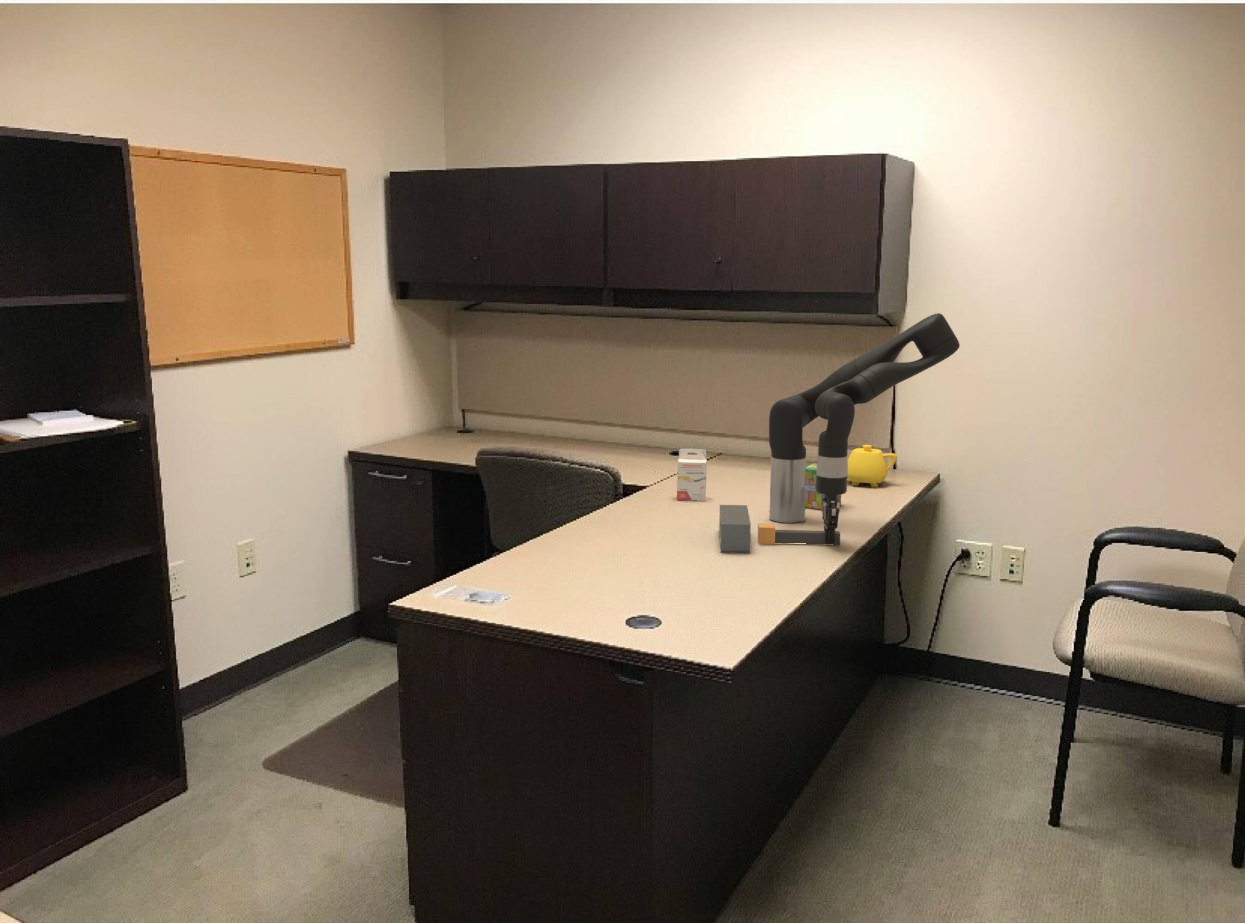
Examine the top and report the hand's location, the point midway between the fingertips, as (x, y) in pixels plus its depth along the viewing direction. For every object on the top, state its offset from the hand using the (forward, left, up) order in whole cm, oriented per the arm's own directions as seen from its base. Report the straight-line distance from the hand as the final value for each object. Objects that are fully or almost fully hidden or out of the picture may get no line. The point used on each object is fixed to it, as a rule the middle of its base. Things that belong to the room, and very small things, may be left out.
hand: (829, 541), depth 253 cm
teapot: (-19, -72, -1) cm, 75 cm away
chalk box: (-2, -40, -1) cm, 40 cm away
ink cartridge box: (+35, -46, -1) cm, 58 cm away
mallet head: (+24, 0, -1) cm, 24 cm away
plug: (+7, 0, -1) cm, 8 cm away
